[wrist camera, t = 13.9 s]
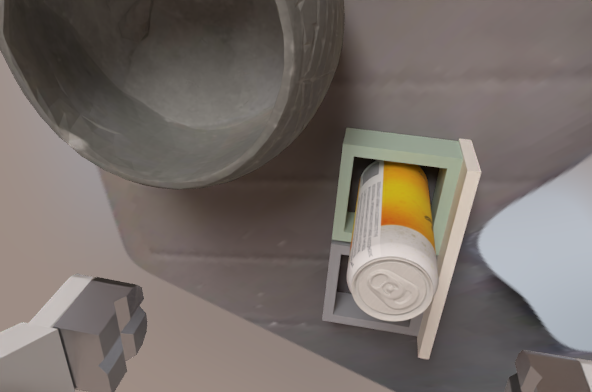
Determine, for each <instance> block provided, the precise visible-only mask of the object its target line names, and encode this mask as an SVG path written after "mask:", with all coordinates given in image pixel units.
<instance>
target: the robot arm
mask: <svg viewBox="0 0 592 392" xmlns="http://www.w3.org/2000/svg"><path fill="white" fill-rule="evenodd" d="M143 299H144V297H143V292H142V288H141V287H140V286H138V285H135V284H129V283H124V282H119V281H114V280H109V279H104V278H99V277H97V278H96V277H91V276H86V275H81V274H75V275H73V276H71V277H70V278H69V279H68V280H67V281H66V282H65V283H64V284H63V285H62V286H61V287H60V289H59V290H58V291H57V292H56V293H55V294H54V295H53V296H52V298H51V299H50V300H49V301H48V302H47V303H46V304H45V305H44V307H43V308H42V309H41V310H40V311H39V312H38V313H37V314H36V315H35V317H34V318H33V319H32V320H31V321H30V322H29V323H23V322H22V323H19V324H17V325H15V326H13V327H11V328H9V329H6V330H4V331H2V332H0V392H75V389H76V390H82V391H88V392H115V390H116V388H117V387H118V385H119V383H120V382H121V380H122V378H123V377H124V375H125V373H126V372H127V368H126V362H125V361H127V360H129V359H130V358H132V357H133V356H135V355H137V353H138V351H139V349H140V348H141V346H142V344H143V341H144V338H145V334H146V329H147V318H146V313H145V312H144V311H143V309H142V308H141V307H140V306H139V305H140V304H141V302H142V301H143ZM515 365H516V370H517V373H516V374H515V375H513V376H511V377H509V379H508V382H507V385H506V388H505V392H592V361H590V360H583V359H577V358H575V359H574V358H570V357H564V356H558V355H552V354H545V353H539V352H533V351H526V350H522V351H521V352H520V353H519V354H518V356H517V359H516V361H515Z"/></svg>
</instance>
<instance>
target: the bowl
mask: <svg viewBox="0 0 592 392" xmlns="http://www.w3.org/2000/svg"><path fill="white" fill-rule="evenodd" d="M343 36H344V0H0V51H1V52H2V54H3V56H4V58H5V60H6V62H7V64H8V66H9V68H10V70H11V72H12V74H13V76H14V78H15V79H16V81H17V83H18V85H19V86H20V88H21V90H22V91H23V93H24V95H25V96H26V98H27V99H28V100H29V102H30V103H31V104H32V106H33V107H34V108H35V110H36V111H37V112H38V114H39V115H40V117H42V119H43V120H44V121H45V122H46V123H47V124H48V125H49V126H50V127H51V129H52V130H53V131H54V132H55V133H56V134H57V135H58V136H59V137H60V138H61V139H62V140H64V141H65V142H66V143H67V144H68V145H69V146H71V147H72V148H73V149H74V150H75V151H76V152H77V153H79V154H80V155H81V156H82V157H84V158H86V159H87V160H89V161H90V162H92V163H94V164H95V165H97V166H99V167H100V168H102V169H103V170H106V171H108V172H110V173H112V174H115V175H117V176H119V177H121V178H123V179H126V180H129V181H132V182H136V183H139V184H142V185H146V186H152V187H157V188H167V189H193V188H204V187H209V186H213V185H218V184H222V183H226V182H230V181H233V180H235V179H237V178H239V177H241V176H244V175H246V174H248V173H250V172H252V171H254V170H256V169H258V168H260V167H261V166H263V165H264V164H266V163H267V162H268V161H270V160H271V159H273V158H274V157H276V156H277V155H278V154H280V153H281V152H282V151H283V150H284V149H285V148H287V147H288V146H289V145H290V144H291V143H292V142H293V141H294V140H295V139H296V138H297V137H298V136H299V135H300V133H301V132H302V131H303V130H304V129H305V128H306V126H307V124H308V123H309V121H310V120H311V119H312V118H313V116H314V114H315V113H316V111H317V109H318V107H319V106H320V104H321V102H322V101H323V99H324V97H325V95H326V93H327V91H328V89H329V87H330V84H331V82H332V79H333V76H334V74H335V71H336V68H337V65H338V62H339V58H340V53H341V49H342V44H343Z"/></svg>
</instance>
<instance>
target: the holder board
mask: <svg viewBox="0 0 592 392" xmlns="http://www.w3.org/2000/svg"><path fill="white" fill-rule="evenodd" d="M354 157H362V158H369V159H377V160H385V161H393V162H400V163H408V164H416V165H424V166H431V167H439V168H440V169H439V173H438V178H437V182H436V186H435V191H434V195H433V199H432V204H431V214H432V223H433V232H434V241H435V250H436V259H437V268H438V277H439V284H438V289H437V292H436V293H435V295H434V297H433V298H432V301H431V303H430V305H429V306H428V308H427V309H426V310H425V311H424V312H423V313H421V314H420V315H418V316H416V317H414V318H412V319H409V320H405V321H395V322H392V321H384V320H380V319H377V318H374V317H372V316H370V315H368V314H367V313H365V312H364V311H363V310H361V309H360V308H359V306H358V305H357V304H356V302H355V301H354V299H353V296H352V294H349V293H343V292H337V284H338V277H339V269H340V262H341V254H342V255H349V254H350V246H351V239H352V231H353V224H354V216H355V213H354V212H347V209H348V201H349V194H350V186H351V179H352V171H353V164H354ZM480 175H481V170H480V166H479V163H478V160H477V157H476V154H475V151H474V147H473V144H472V141H471V140H468V139H459V140H458V141H453V140H445V139H437V138H429V137H420V136H412V135H404V134H396V133H388V132H380V131H371V130H363V129H355V128H346V132H345V137H344V141H343V148H342V156H341V165H340V173H339V182H338V190H337V199H336V207H335V215H334V224H333V232H332V242H331V249H330V258H329V266H328V275H327V283H326V292H325V300H324V309H323V317H322V320H323V321H329V322H335V323H341V324H347V325H353V326H359V327H365V328H371V329H377V330H383V331H389V332H395V333H400V334H406V335H412V336H417V346H418V358H423V359H429V357H430V353H431V350H432V346H433V343H434V339H435V336H436V332H437V329H438V325H439V321H440V318H441V314H442V311H443V307H444V304H445V300H446V296H447V293H448V289H449V286H450V282H451V279H452V275H453V271H454V268H455V264H456V261H457V257H458V254H459V250H460V247H461V243H462V239H463V236H464V232H465V229H466V225H467V222H468V218H469V214H470V211H471V207H472V204H473V200H474V197H475V193H476V189H477V186H478V182H479V179H480Z"/></svg>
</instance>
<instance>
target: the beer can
mask: <svg viewBox="0 0 592 392" xmlns="http://www.w3.org/2000/svg"><path fill="white" fill-rule="evenodd" d="M347 284H348V287H349V290H350V292H351V293H352V296H353V299H354V301H355V302H356V304H357V305H358V306H359V308H360V309H361V310H363V311H364V312H365V313H367V314H368V315H370V316H372V317H374V318H377V319H380V320H384V321H392V322H395V321H405V320H409V319H412V318H414V317H416V316H418V315H420V314H421V313H423V312H424V311H425V310H426V309H427V308H428V306H429V305H430V303H431V301H432V298H433V297H434V295H435V293H436V292H437V289H438V284H439V277H438V268H437V259H436V250H435V241H434V232H433V223H432V214H431V205H430V197H429V188H428V180H427V177H426V175H425V173H424V171H423V170H422V169H421V168H420V167H419V166H418V165H416V164H408V163H400V162H393V161H385V160H376V161H374V162H373V163H371V164H370V165H369V166H368V167H367V168H366V169H365V170H364V171H363V173H362V175H361V177H360V181H359V187H358V194H357V202H356V209H355V216H354V224H353V231H352V239H351V246H350V254H349V261H348V268H347Z"/></svg>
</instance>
